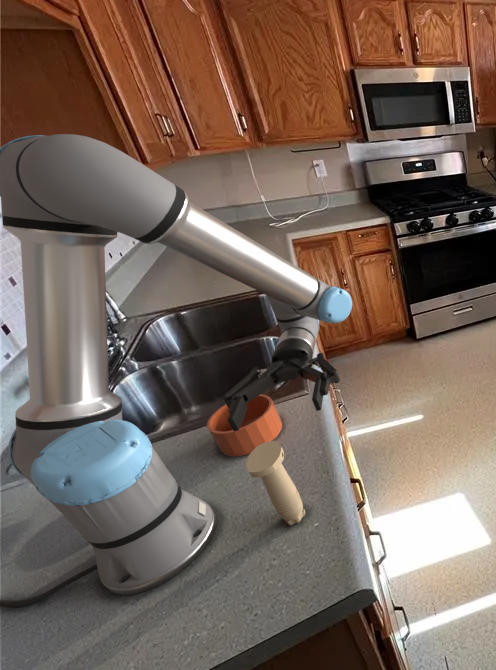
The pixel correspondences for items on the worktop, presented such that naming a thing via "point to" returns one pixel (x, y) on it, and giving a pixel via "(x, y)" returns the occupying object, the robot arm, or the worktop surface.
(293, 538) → the worktop surface
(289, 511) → the handle
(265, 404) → the crock
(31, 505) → the worktop surface
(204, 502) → the robot arm
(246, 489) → the worktop surface
